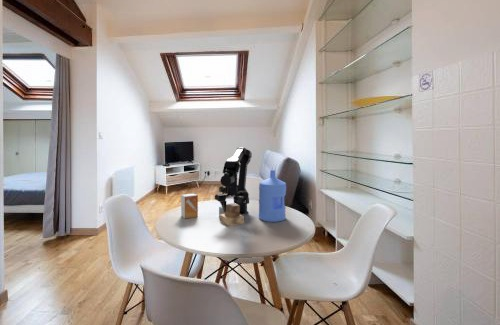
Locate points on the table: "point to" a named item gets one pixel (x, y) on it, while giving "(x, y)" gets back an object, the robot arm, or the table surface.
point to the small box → (189, 205)
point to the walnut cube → (232, 210)
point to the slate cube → (221, 211)
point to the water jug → (272, 199)
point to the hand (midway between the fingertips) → (232, 210)
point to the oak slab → (231, 220)
